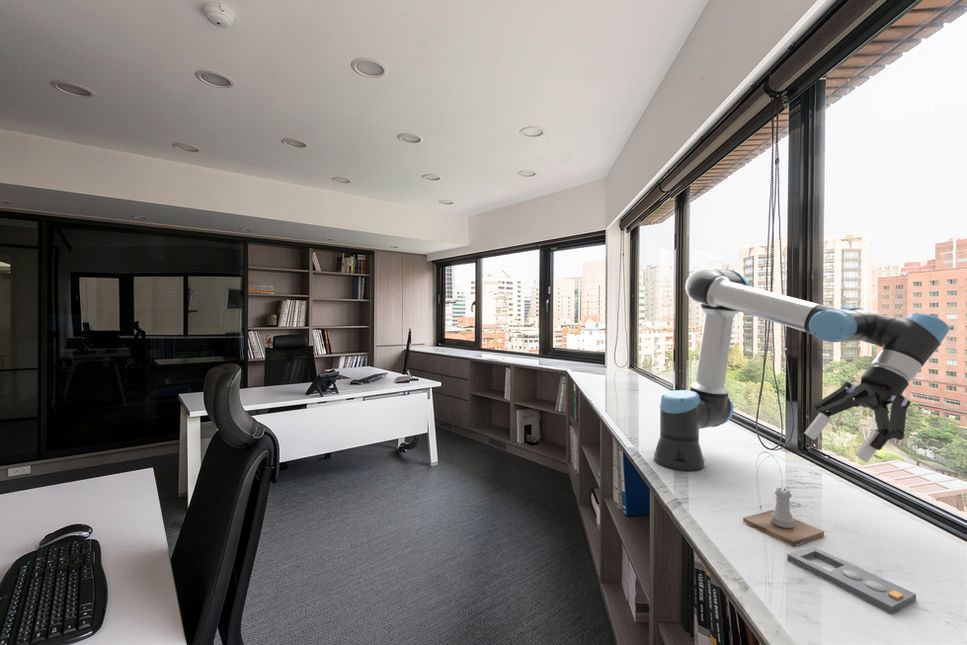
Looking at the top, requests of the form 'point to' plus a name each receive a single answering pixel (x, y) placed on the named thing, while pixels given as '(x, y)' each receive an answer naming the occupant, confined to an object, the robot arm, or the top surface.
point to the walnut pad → (783, 529)
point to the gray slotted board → (855, 580)
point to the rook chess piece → (782, 509)
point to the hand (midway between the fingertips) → (833, 446)
